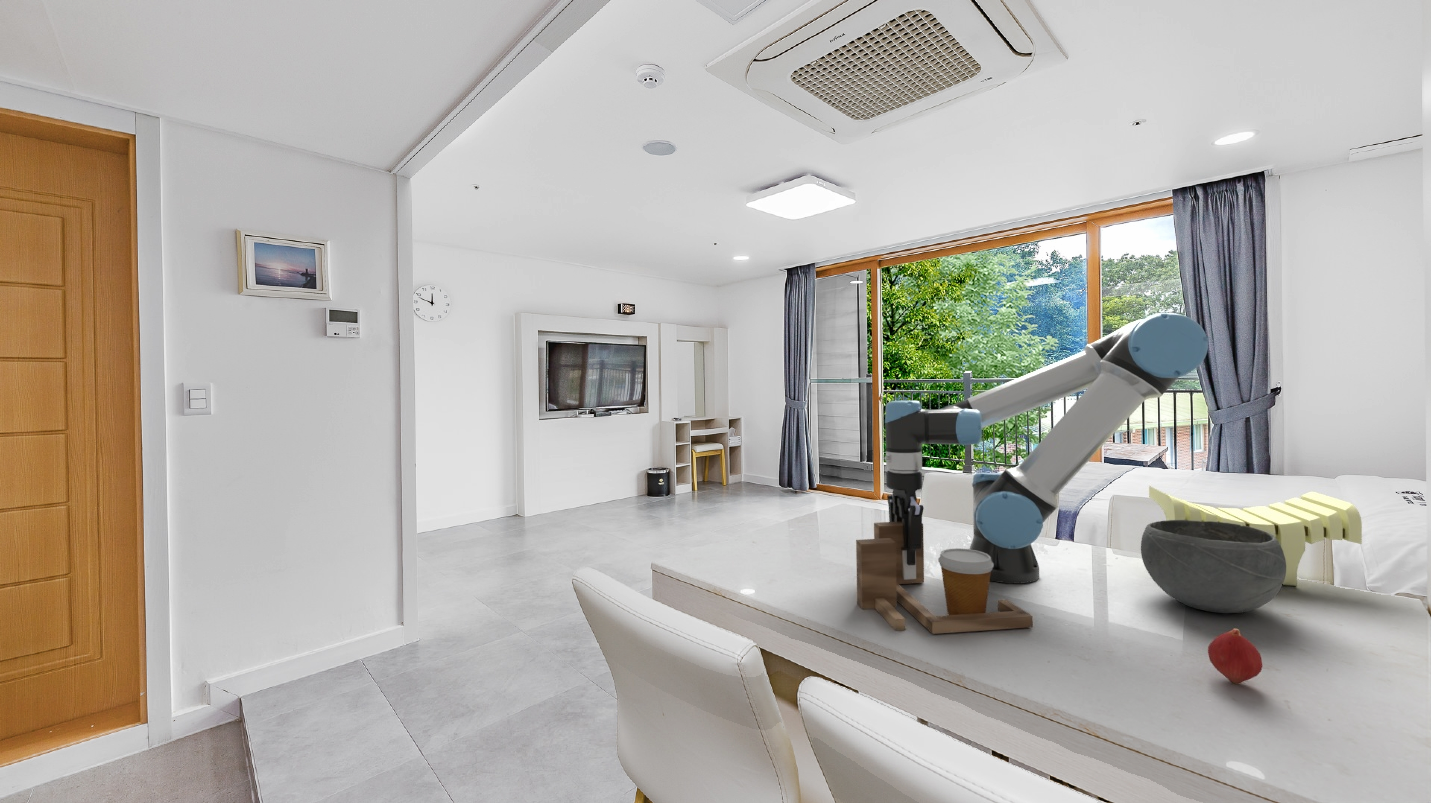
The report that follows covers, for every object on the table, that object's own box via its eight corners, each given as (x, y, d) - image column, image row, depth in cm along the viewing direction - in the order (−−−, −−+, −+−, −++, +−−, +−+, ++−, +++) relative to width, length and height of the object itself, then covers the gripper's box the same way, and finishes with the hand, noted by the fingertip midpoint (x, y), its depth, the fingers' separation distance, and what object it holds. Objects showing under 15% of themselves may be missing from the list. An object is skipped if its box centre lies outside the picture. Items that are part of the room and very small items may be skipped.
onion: (1197, 673, 85) (1197, 620, 84) (1232, 670, 85) (1232, 618, 85) (1236, 694, 79) (1236, 638, 79) (1273, 691, 79) (1274, 635, 79)
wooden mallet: (857, 603, 115) (856, 539, 114) (890, 601, 115) (889, 538, 115) (881, 631, 102) (880, 559, 101) (919, 628, 102) (918, 557, 102)
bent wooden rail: (874, 580, 127) (873, 522, 126) (955, 575, 128) (954, 518, 128) (932, 633, 99) (931, 560, 99) (1032, 626, 101) (1032, 554, 101)
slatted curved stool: (1174, 580, 123) (1174, 498, 122) (1149, 558, 138) (1149, 485, 137) (1360, 595, 112) (1361, 506, 111) (1311, 570, 127) (1312, 491, 126)
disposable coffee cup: (1001, 630, 101) (1000, 564, 100) (944, 627, 102) (943, 562, 102) (986, 609, 110) (985, 548, 109) (934, 606, 112) (933, 546, 111)
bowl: (1283, 602, 109) (1283, 526, 109) (1289, 641, 94) (1290, 551, 94) (1147, 579, 124) (1147, 511, 123) (1133, 609, 108) (1133, 531, 108)
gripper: (873, 466, 133) (875, 565, 133) (903, 476, 117) (905, 589, 117) (904, 464, 133) (905, 563, 134) (938, 475, 117) (940, 587, 118)
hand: (905, 575), depth 126 cm, fingers closed on bent wooden rail, 3 cm apart
